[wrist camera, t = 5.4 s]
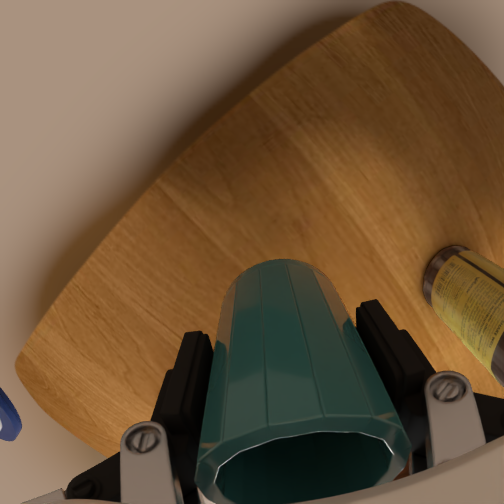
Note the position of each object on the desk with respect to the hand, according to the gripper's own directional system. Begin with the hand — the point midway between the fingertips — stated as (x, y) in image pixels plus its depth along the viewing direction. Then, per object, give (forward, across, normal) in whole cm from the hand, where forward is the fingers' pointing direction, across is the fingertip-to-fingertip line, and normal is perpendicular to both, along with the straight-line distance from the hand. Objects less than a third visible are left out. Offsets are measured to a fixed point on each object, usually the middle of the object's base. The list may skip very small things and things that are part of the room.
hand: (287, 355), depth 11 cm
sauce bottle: (+13, -15, +6) cm, 21 cm away
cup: (+3, 0, 0) cm, 3 cm away
